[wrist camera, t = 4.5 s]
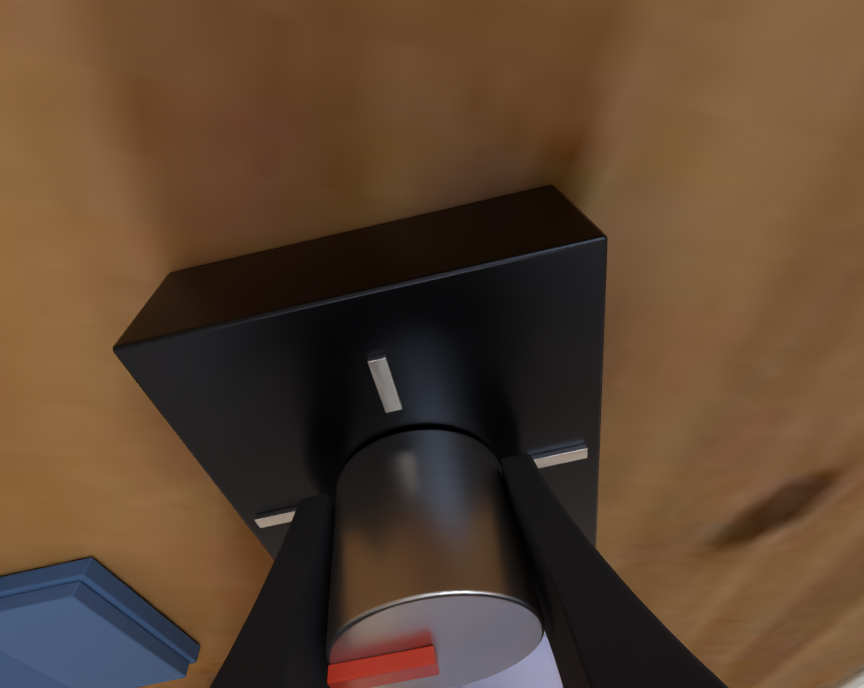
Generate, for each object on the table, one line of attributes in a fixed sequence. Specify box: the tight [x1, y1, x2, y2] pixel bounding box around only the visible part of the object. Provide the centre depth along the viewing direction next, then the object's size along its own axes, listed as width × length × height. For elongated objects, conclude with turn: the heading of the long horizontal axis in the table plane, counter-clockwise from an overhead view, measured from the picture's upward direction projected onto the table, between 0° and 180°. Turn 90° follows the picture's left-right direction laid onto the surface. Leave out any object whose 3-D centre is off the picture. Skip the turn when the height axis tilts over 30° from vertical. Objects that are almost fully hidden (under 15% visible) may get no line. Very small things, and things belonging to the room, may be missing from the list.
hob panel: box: [113, 185, 607, 560], centre depth 12 cm, size 11×9×3 cm
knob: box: [325, 429, 545, 688], centre depth 10 cm, size 4×4×4 cm
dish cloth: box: [0, 558, 200, 688], centre depth 18 cm, size 8×9×1 cm
